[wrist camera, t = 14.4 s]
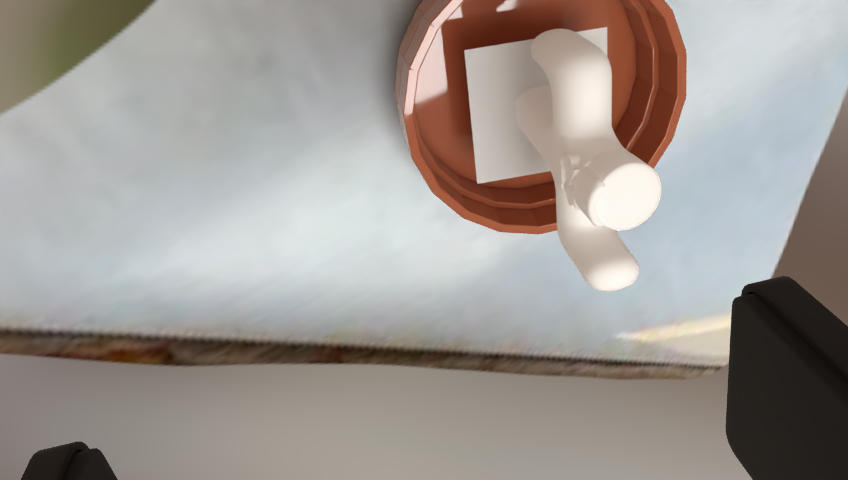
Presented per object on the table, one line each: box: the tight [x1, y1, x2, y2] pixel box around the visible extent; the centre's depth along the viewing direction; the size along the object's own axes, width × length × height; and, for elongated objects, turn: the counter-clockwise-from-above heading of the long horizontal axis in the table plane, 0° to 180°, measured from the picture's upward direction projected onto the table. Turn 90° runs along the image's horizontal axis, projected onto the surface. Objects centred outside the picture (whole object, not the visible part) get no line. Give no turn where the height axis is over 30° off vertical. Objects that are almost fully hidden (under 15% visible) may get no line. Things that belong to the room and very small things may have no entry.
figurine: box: [464, 27, 662, 291], centre depth 32 cm, size 7×9×15 cm
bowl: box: [394, 0, 686, 234], centre depth 37 cm, size 15×15×5 cm
